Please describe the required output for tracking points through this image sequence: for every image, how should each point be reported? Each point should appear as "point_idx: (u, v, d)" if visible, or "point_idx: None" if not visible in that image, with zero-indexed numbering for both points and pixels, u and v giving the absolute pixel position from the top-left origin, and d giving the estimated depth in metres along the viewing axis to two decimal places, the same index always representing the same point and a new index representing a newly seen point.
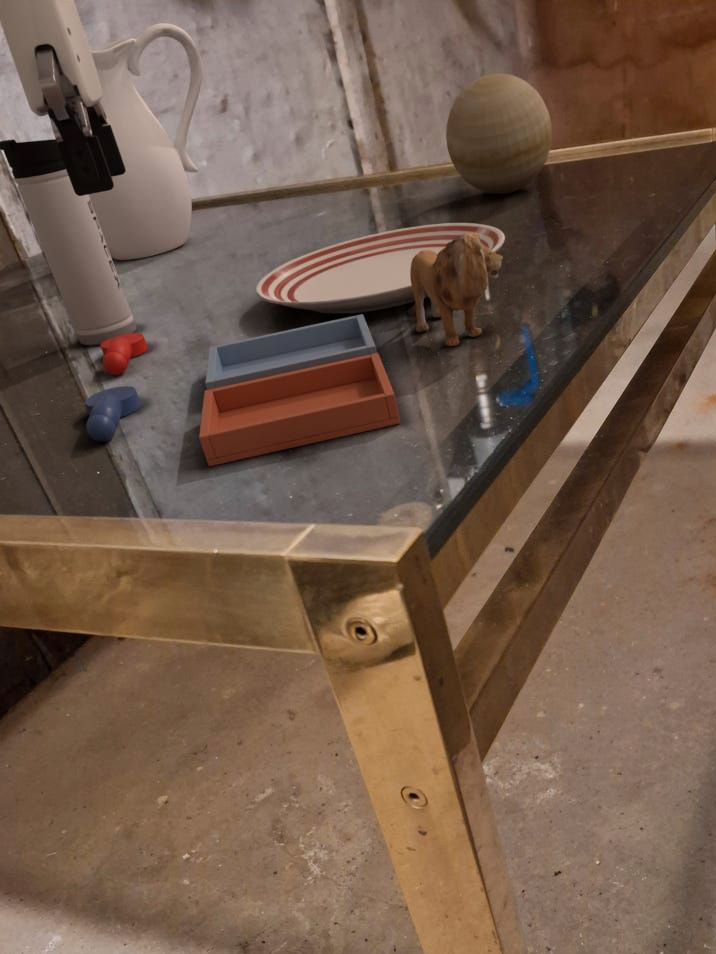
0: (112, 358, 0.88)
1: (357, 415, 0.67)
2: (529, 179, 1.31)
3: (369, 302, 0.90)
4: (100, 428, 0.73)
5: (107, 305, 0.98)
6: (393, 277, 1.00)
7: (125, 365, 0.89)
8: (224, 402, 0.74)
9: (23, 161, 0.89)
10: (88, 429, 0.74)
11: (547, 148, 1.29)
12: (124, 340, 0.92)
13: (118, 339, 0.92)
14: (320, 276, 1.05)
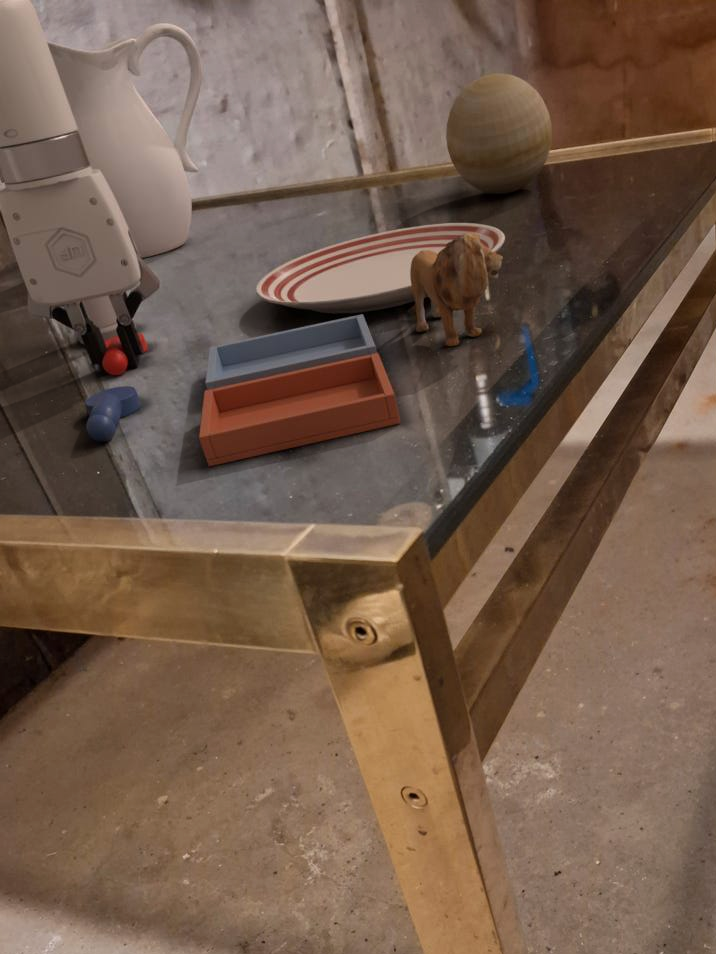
0: (112, 358, 0.88)
1: (357, 415, 0.67)
2: (529, 179, 1.31)
3: (369, 302, 0.90)
4: (100, 428, 0.73)
5: (107, 304, 0.98)
6: (393, 277, 1.00)
7: (125, 365, 0.89)
8: (224, 402, 0.74)
9: None
10: (88, 429, 0.74)
11: (547, 148, 1.29)
12: None
13: (118, 339, 0.92)
14: (320, 276, 1.05)
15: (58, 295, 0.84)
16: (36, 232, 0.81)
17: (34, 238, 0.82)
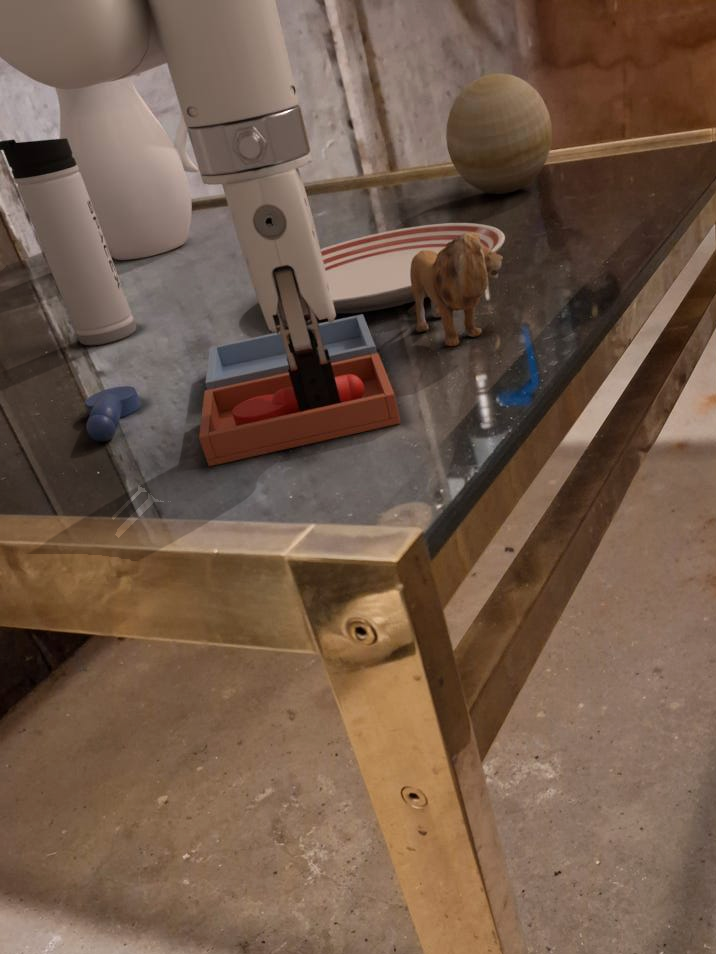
0: None
1: (357, 415, 0.67)
2: (529, 179, 1.31)
3: (369, 302, 0.90)
4: (100, 428, 0.73)
5: (107, 304, 0.98)
6: (393, 277, 1.00)
7: None
8: (224, 402, 0.74)
9: (23, 161, 0.89)
10: (88, 429, 0.74)
11: (547, 148, 1.29)
12: None
13: None
14: None
15: (333, 304, 0.65)
16: (313, 222, 0.62)
17: (315, 230, 0.62)
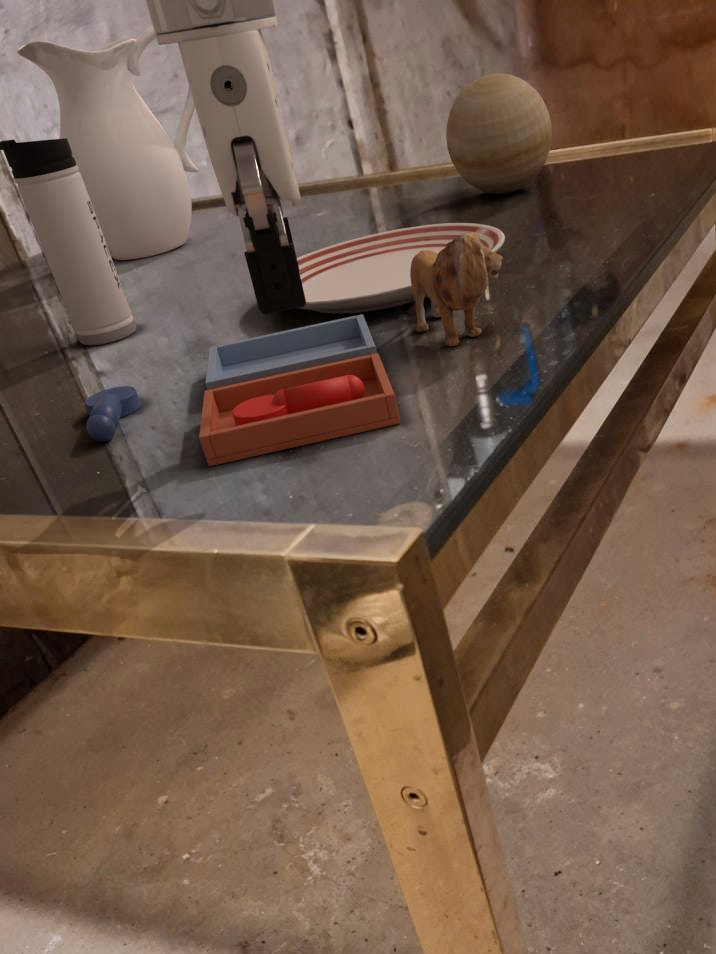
0: (357, 378, 0.71)
1: (357, 415, 0.67)
2: (529, 179, 1.31)
3: (369, 302, 0.90)
4: (100, 428, 0.73)
5: (107, 304, 0.98)
6: (393, 277, 1.00)
7: None
8: (224, 402, 0.74)
9: (23, 162, 0.89)
10: (88, 429, 0.74)
11: (547, 148, 1.29)
12: None
13: (291, 387, 0.71)
14: (320, 276, 1.05)
15: None
16: (277, 94, 0.58)
17: (278, 102, 0.58)
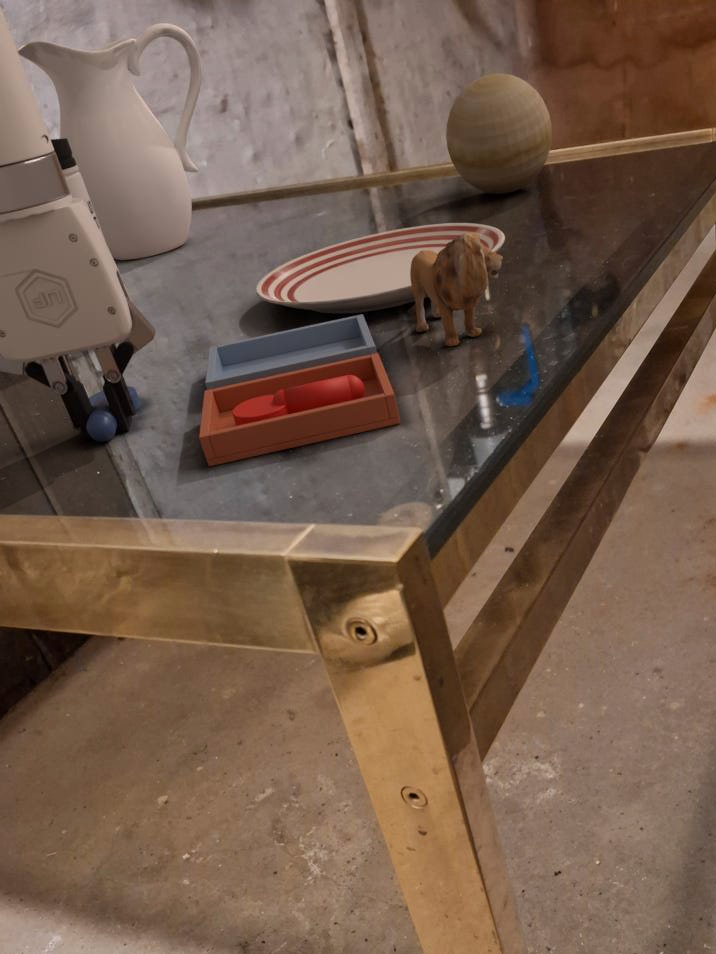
0: (357, 378, 0.71)
1: (357, 415, 0.67)
2: (529, 179, 1.31)
3: (369, 302, 0.90)
4: (100, 428, 0.73)
5: None
6: (393, 277, 1.00)
7: None
8: (224, 402, 0.74)
9: None
10: (88, 429, 0.74)
11: (547, 148, 1.29)
12: None
13: (291, 387, 0.71)
14: (320, 276, 1.05)
15: (32, 349, 0.70)
16: (4, 275, 0.67)
17: (1, 282, 0.67)
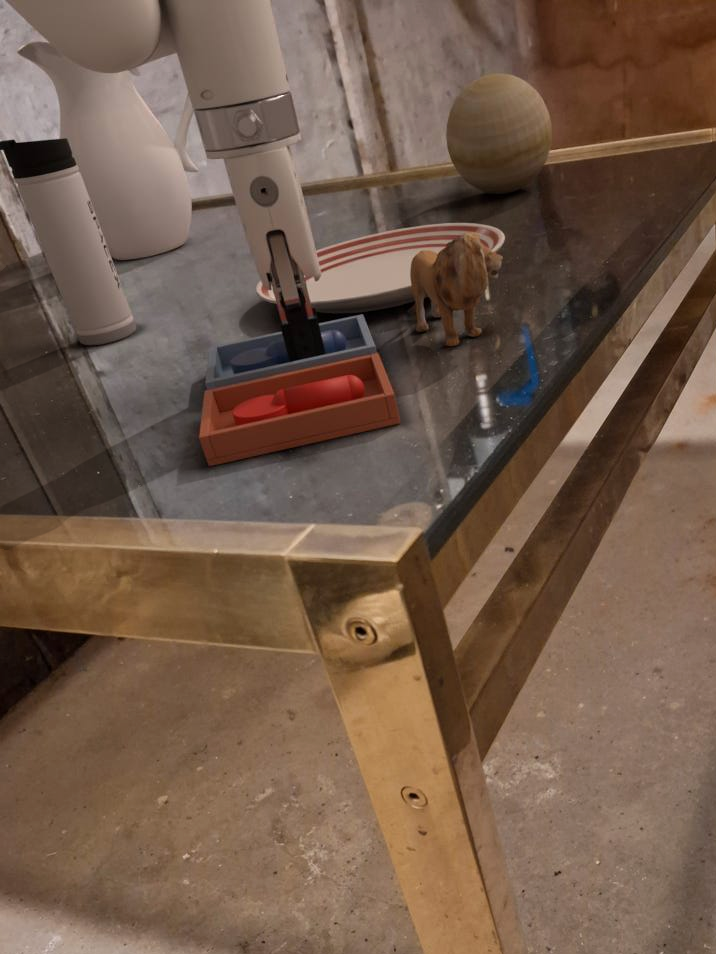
0: (357, 378, 0.71)
1: (357, 415, 0.67)
2: (529, 179, 1.31)
3: (369, 302, 0.90)
4: (344, 336, 0.81)
5: (107, 304, 0.98)
6: (393, 277, 1.00)
7: None
8: (224, 402, 0.74)
9: (23, 162, 0.89)
10: (341, 340, 0.81)
11: (547, 148, 1.29)
12: None
13: (291, 387, 0.71)
14: None
15: None
16: (302, 193, 0.72)
17: (303, 200, 0.72)
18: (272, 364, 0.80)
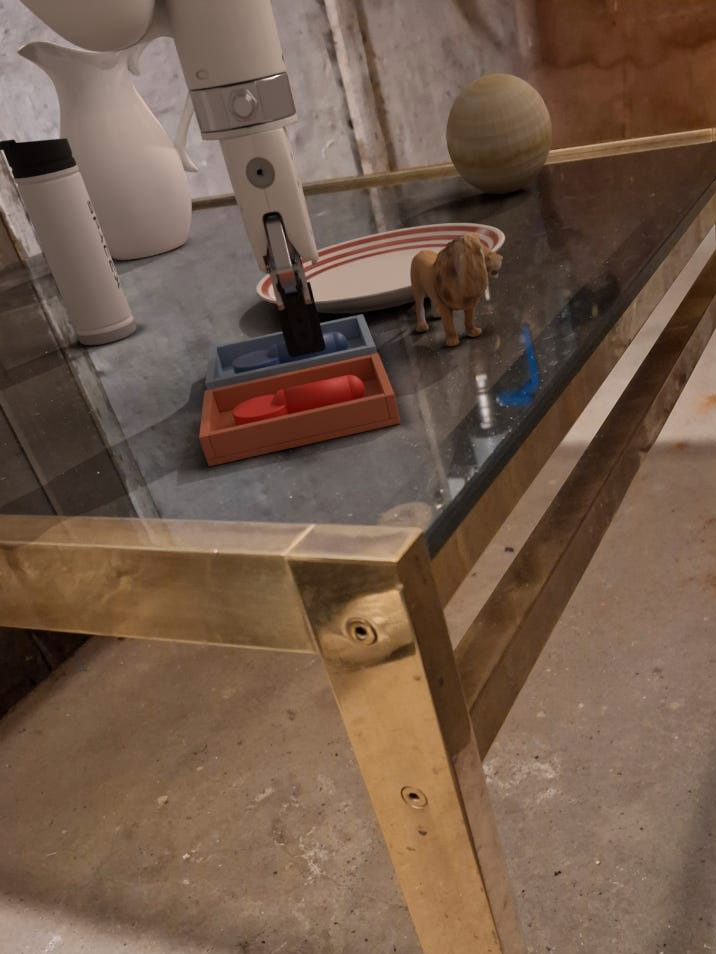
0: (357, 378, 0.71)
1: (357, 415, 0.67)
2: (529, 179, 1.31)
3: (369, 302, 0.90)
4: (345, 338, 0.81)
5: (107, 304, 0.98)
6: (393, 277, 1.00)
7: None
8: (224, 402, 0.74)
9: (23, 162, 0.89)
10: (342, 342, 0.81)
11: (547, 148, 1.29)
12: None
13: (291, 387, 0.71)
14: (320, 276, 1.05)
15: (316, 249, 0.75)
16: (298, 175, 0.72)
17: (300, 182, 0.72)
18: None
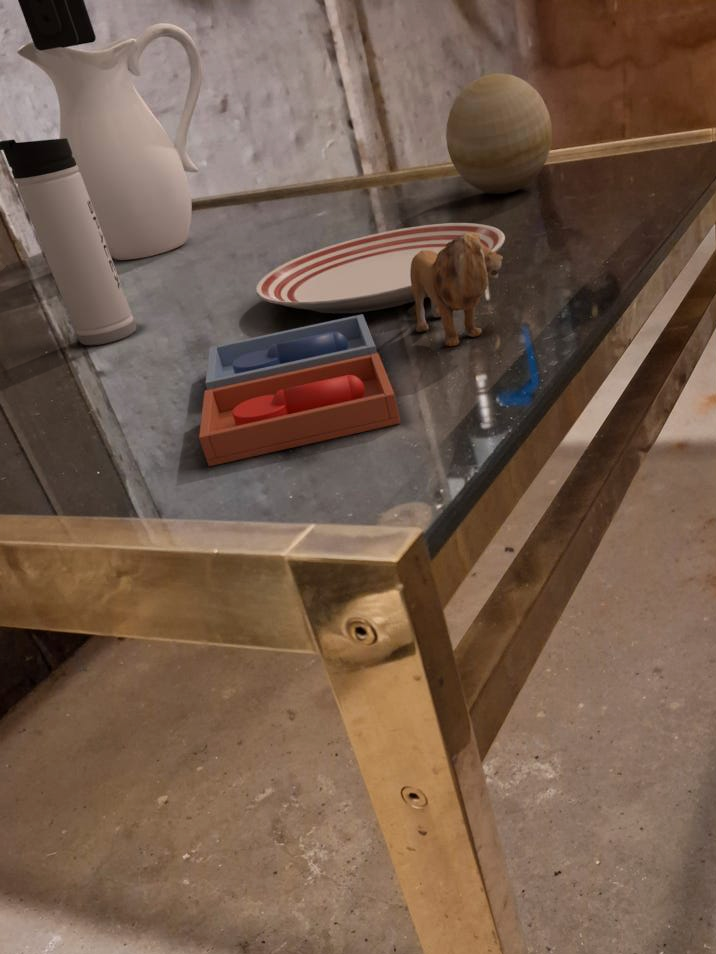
0: (357, 378, 0.71)
1: (357, 415, 0.67)
2: (529, 179, 1.31)
3: (369, 302, 0.90)
4: (345, 338, 0.81)
5: (107, 304, 0.98)
6: (393, 277, 1.00)
7: None
8: (224, 402, 0.74)
9: (23, 162, 0.89)
10: (342, 342, 0.81)
11: (547, 148, 1.29)
12: None
13: (291, 387, 0.71)
14: (320, 276, 1.05)
15: None
16: None
17: None
18: None
